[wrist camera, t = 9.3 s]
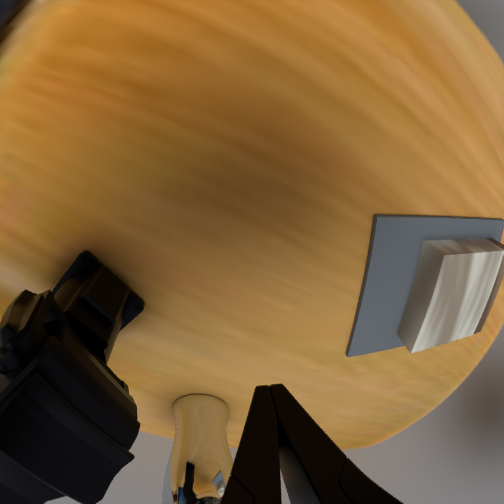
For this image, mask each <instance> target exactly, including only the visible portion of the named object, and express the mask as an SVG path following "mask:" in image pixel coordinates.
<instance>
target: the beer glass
mask: <svg viewBox="0 0 504 504" xmlns="http://www.w3.org/2000/svg"><path fill="white" fill-rule="evenodd" d="M173 416H174V422H175V436H174V442H173V446H172V450H171V453H170V457H169V461H168V464H167V468H166V472H165V477H164V483H163V494H162V504H219V503H220V501H221V499H222V496H223V493H224V491H225V488H226V485H227V482H228V479H229V476H230V473H231V470H232V466H233V463H234V462H233V459H232V456H231V453H230V449H229V445H228V441H227V422H228V416H229V408H228V406H227V405H226V403H225V402H223V401H222V400H220V399H218V398H216V397H213V396H209V395H203V394H194V395H187V396H184V397H182V398H180V399H178V400H177V401H176V402H175V403H174V405H173Z"/></svg>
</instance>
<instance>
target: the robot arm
mask: <svg viewBox="0 0 504 504" xmlns="http://www.w3.org/2000/svg"><path fill="white" fill-rule="evenodd" d="M84 256H86V257H87V259H85V258H84ZM136 304H139V305H140V307H139V306H137V305H136ZM144 307H145V303H144V301H143V300H142V299H140V298H139V297H138V296H137V295H136V294H135V293H134V292H132V291H131V290H130V289H129V287H128V286H127V285H125V284H124V283H123V282H122V281H121V280H120V279H119V278H118V277H117V276H115V275H114V274H113V273H112V272H111V271H110V270H109V269H108V268H107V267H105V266H104V265H103V264H102V263H101V262H99V261H98V260H97V259H96V258H95V257H94V256H93V255H92V254H91V253H90V252H89V251H86V250H84V251H82V252H81V253H80V255H79V256H78V257H77V258H76V260H75V261H74V262H73V264H72V265H71V266H70V268H69V269H68V270H67V272H66V273H65V274H64V276H63V277H62V278H61V280H60V281H59V283H58V284H57V285H56V287H55V288H54V290H53V291H52V292H51V291H50V289H49V290H47V291H45V292H43V293H41V294H38V295H37V294H36V293H35V294H34V293H32V292H30V291H28V290H26V289H25V290H24V291H22V292H21V293H20V294H19V295H18V296H17V297H16V298H15V299H14V301H13V302H12V303H11V304H10V306H9V307H8V308H7V310H6V312H5V315H4V316H3V317H2V320H1V323H0V504H45V503H46V502H47V501H50V500H54V499H58V498H61V497H64V496H68V497H70V498H72V499H74V500H75V501H77V502H80V503H81V504H96V503H97V502H99V501H100V500H102V499H103V497H104V495H105V493H106V491H107V489H108V487H109V485H110V483H111V481H112V480H113V478H114V477H115V475H116V474H117V473H118V472H119V471H120V470H121V469H122V468H123V467H124V466H125V465H126V464H128V463H129V462H131V461H132V460H133V459H134V455H133V454H132V453H130V452H129V450H130V449H131V447H132V445H133V443H134V441H135V439H136V437H137V435H138V432H139V428H140V423H139V422H138V421H137V406H136V404H135V402H134V399H133V397H132V396H130V395H129V390H128V386H127V384H126V383H125V382H124V381H121V380H120V379H119V378H118V377H117V376H116V375H115V374H114V373H113V372H112V371H111V369H110V368H109V367H108V366H107V362H108V360H109V357H110V354H111V351H112V349H113V346H114V343H115V340H116V338H117V335H118V333H119V332H120V331H121V330H122V329H123V328H124V327H125V326H126V325H127V324H128V323H129V322H131V321H132V320H133V319H134V318H135V317H136V316H137V315H138V314H140V313H141V312H142V311H143V309H144ZM280 469H281V473H282V476H283V479H284V483H285V486H286V489H287V493H288V496H289V499H290V502H291V504H403V503H402V502H400V501H399V500H398V499H396V498H395V497H393V496H392V495H391V494H389V493H388V492H387V491H385V490H384V489H382V488H381V487H380V486H378V485H377V484H376V483H375V482H373V481H372V480H371V479H370V478H369V477H367V476H366V475H365V474H364V473H363V472H362V471H361V470H360V469H359V468H358V467H357V466H356V465H355V464H354V463H353V462H352V461H351V460H350V459H349V458H347V456H346V455H345V454H344V453H343V452H342V451H341V450H340V448H339V447H338V446H337V445H336V444H335V443H334V442H333V441H332V440H331V439H330V438H329V437H328V435H327V434H326V433H325V432H324V431H323V430H322V429H321V428H320V427H319V425H318V424H317V423H316V422H315V421H314V420H313V419H312V418H311V416H310V415H309V414H308V413H307V412H306V411H305V410H304V408H303V407H302V406H301V405H300V404H299V403H298V401H297V400H296V399H295V398H294V397H293V396H292V394H291V393H290V392H289V391H288V390H287V389H286V387H285V386H284V385H283V384H272V385H270V386H268V385H261V386H256V387H255V391H254V394H253V398H252V401H251V405H250V409H249V412H248V416H247V419H246V423H245V426H244V430H243V433H242V436H241V440H240V443H239V447H238V451H237V453H236V457H235V460H234V463H233V466H232V470H231V473H230V476H229V479H228V482H227V485H226V488H225V491H224V493H223V496H222V499H221V501H220V503H219V504H282V503H281V480H280Z"/></svg>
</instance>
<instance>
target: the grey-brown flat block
mask: <svg viewBox="0 0 504 504" xmlns="http://www.w3.org/2000/svg"><path fill="white" fill-rule="evenodd" d="M503 275H504V245H503V244H501V243H500V242H498V241H496V240H495V239H493V238H485V239H452V240H423V244H422V248H421V253H420V257H419V261H418V265H417V269H416V273H415V277H414V280H413V284H412V288H411V291H410V295H409V298H408V301H407V304H406V308H405V311H404V314H403V317H402V320H401V323H400V326H399V329H398V332H397V335H398V337H399V338H400V339H401V341H402V342H403V343H404V345H405V346H406V348H407V349H408V350H409V352H410V353H414V352H418V351H421V350H425V349H428V348H432V347H435V346H439V345H442V344H445V343H448V342H452V341H455V340H458V339H461V338H464V337H467V336H469V335H472V334H475V333H478V332H481V330H482V328H483V325H484V323H485V321H486V319H487V316H488V314H489V312H490V309H491V307H492V305H493V302H494V300H495V297H496V295H497V292H498V289H499V287H500V284H501V281H502V278H503Z"/></svg>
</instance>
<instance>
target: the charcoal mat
mask: <svg viewBox="0 0 504 504" xmlns="http://www.w3.org/2000/svg"><path fill="white" fill-rule="evenodd" d="M503 228H504V220H503V219H492V218H473V217H450V216H417V215H374V221H373V228H372V235H371V241H370V247H369V253H368V259H367V264H366V270H365V275H364V280H363V285H362V290H361V294H360V299H359V303H358V308H357V312H356V316H355V320H354V325H353V329H352V333H351V336H350V340H349V344H348V348H347V351H346V355H347V357H352V356H357V355H363V354H368V353H373V352H378V351H383V350H387V349H392V348H396V347H401V346H405V345H404V343H403V342H402V341H401V339H400V338H399V337H398V335H397V332H398V329H399V326H400V323H401V320H402V317H403V314H404V311H405V308H406V304H407V301H408V298H409V295H410V291H411V288H412V284H413V280H414V277H415V273H416V269H417V265H418V261H419V257H420V253H421V248H422V244H423V240H452V239H485V238H493V239H495V240H496V241H498V242H500V240H501V236H502V232H503Z"/></svg>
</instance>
